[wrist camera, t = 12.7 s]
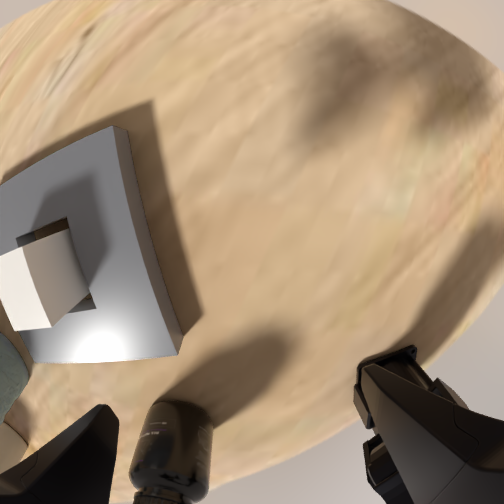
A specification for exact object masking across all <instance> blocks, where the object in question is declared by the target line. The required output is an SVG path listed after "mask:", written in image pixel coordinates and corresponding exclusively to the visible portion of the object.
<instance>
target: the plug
mask: <svg viewBox="0 0 504 504" xmlns="http://www.w3.org/2000/svg"><path fill="white" fill-rule="evenodd" d="M89 293H90V290H89V288H88V285H87V282H86V279H85V276H84V274H83V271H82V268H81V265H80V262H79V258H78V255H77V252H76V249H75V245H74V242H73V238H72V235H71V231H70V228H68V229H66V230H63V231H60V232H57V233H55V234H52V235H50V236H47V237H44V238H42V239H39V240H37V241H34V242H32V243H29V244H27V245H25V246H22V247H20V248H17V249H15V250H13V251H10V252H8V253H6V254H4V255H1V256H0V299H1V301H2V304H3V306H4V309H5V311H6V313H7V316H8V318H9V320H10V323H11V325H12V327H13V329H14V331H21V330H31V329H41V328H50V327H53V326H54V325H55V324H56V323H57V322H58V321H59V320H60V319H61V318H62V317H63V316H64V315H66V314H67V313H68V312H69V311H70V310H71V309H72V308H73V307H74V306H75V305H77V304H78V303H79V302H80V301H81V300H82V299H83V298H84V297H86V296H87V295H88V294H89Z"/></svg>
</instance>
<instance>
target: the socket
mask: <svg viewBox="0 0 504 504" xmlns="http://www.w3.org/2000/svg"><path fill="white" fill-rule="evenodd" d="M65 218H67V220H68V224H69V227H70V231H71V235H72V238H73V242H74V245H75V249H76V252H77V255H78V258H79V262H80V265H81V268H82V271H83V274H84V276H85V279H86V282H87V285H88V288H89V290H90V293H91V295H92V299H87V300H81V301H80V302H79V303H78V304H77V305H75V306H74V307H73V308H72V309H71V310H70V311H69V312H68V313H67V314H66V315H64V316H63V317H62V318H61V319H60V320H59V321H58V322H57V323H56V324H55V325H54V326H53V327H50V328H41V329H31V330H21V331H19V334H20V336H21V338H22V340H23V342H24V344H25V345H26V347H27V349H28V351H29V353H30V355H31V357H32V358H33V360H34V362H35V363H93V362H113V361H127V360H139V359H150V358H160V357H168V356H177V355H178V353H179V350H180V347H181V344H182V340H183V334H182V332H181V329H180V326H179V324H178V321H177V318H176V315H175V312H174V310H173V307H172V304H171V301H170V298H169V295H168V292H167V289H166V286H165V283H164V280H163V276H162V273H161V270H160V267H159V263H158V260H157V257H156V253H155V250H154V246H153V243H152V239H151V236H150V232H149V228H148V224H147V221H146V217H145V213H144V209H143V205H142V200H141V196H140V192H139V188H138V183H137V178H136V174H135V169H134V164H133V159H132V154H131V148H130V143H129V137H128V131H126V130H124V129H121V128H119V127H116V126H113V125H112V126H110V127H107V128H105V129H102V130H100V131H98V132H96V133H93V134H91V135H89V136H87V137H84V138H82V139H80V140H78V141H76V142H74V143H72V144H70V145H68V146H66V147H64V148H62V149H60V150H58V151H56V152H54V153H53V154H51V155H49V156H47V157H45V158H44V159H42V160H40V161H38V162H37V163H35V164H33V165H31V166H30V167H28V168H27V169H25V170H23V171H22V172H20V173H19V174H17V175H15V176H14V177H12V178H11V179H9V180H8V181H6V182H5V183H3V184H2V185H1V186H0V256H1V255H4V254H6V253H8V252H10V251H13V250H15V249H17V248H20V247H22V246H25V245H27V244H29V243H32V242H34V241H36V239H35V235H34V231H36V230H38V229H41V228H43V227H45V226H48V225H50V224H53V223H55V222H58V221H60V220H63V219H65Z"/></svg>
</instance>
